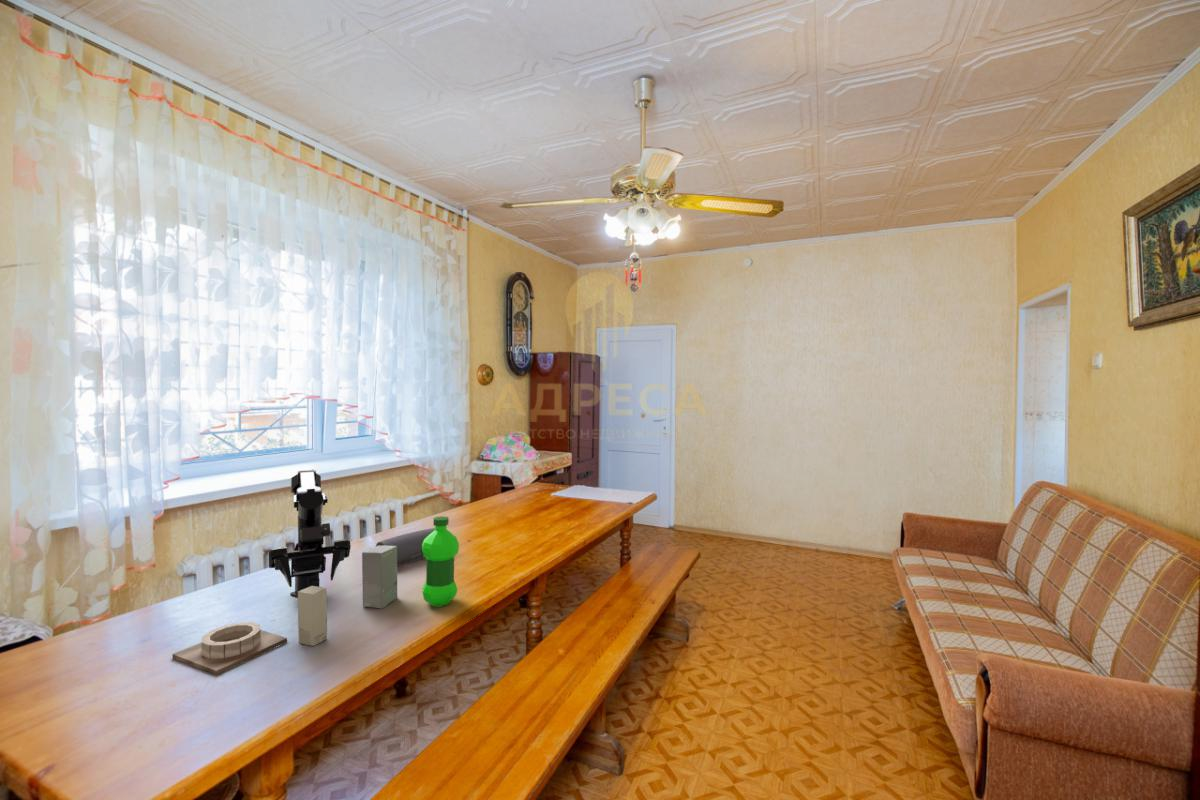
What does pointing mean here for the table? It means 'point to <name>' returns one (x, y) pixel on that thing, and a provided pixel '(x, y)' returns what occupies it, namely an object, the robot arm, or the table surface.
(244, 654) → the ring socket
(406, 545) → the bluetooth speaker
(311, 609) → the box
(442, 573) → the plastic bottle
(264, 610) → the table surface
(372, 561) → the skincare box
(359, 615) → the table surface
